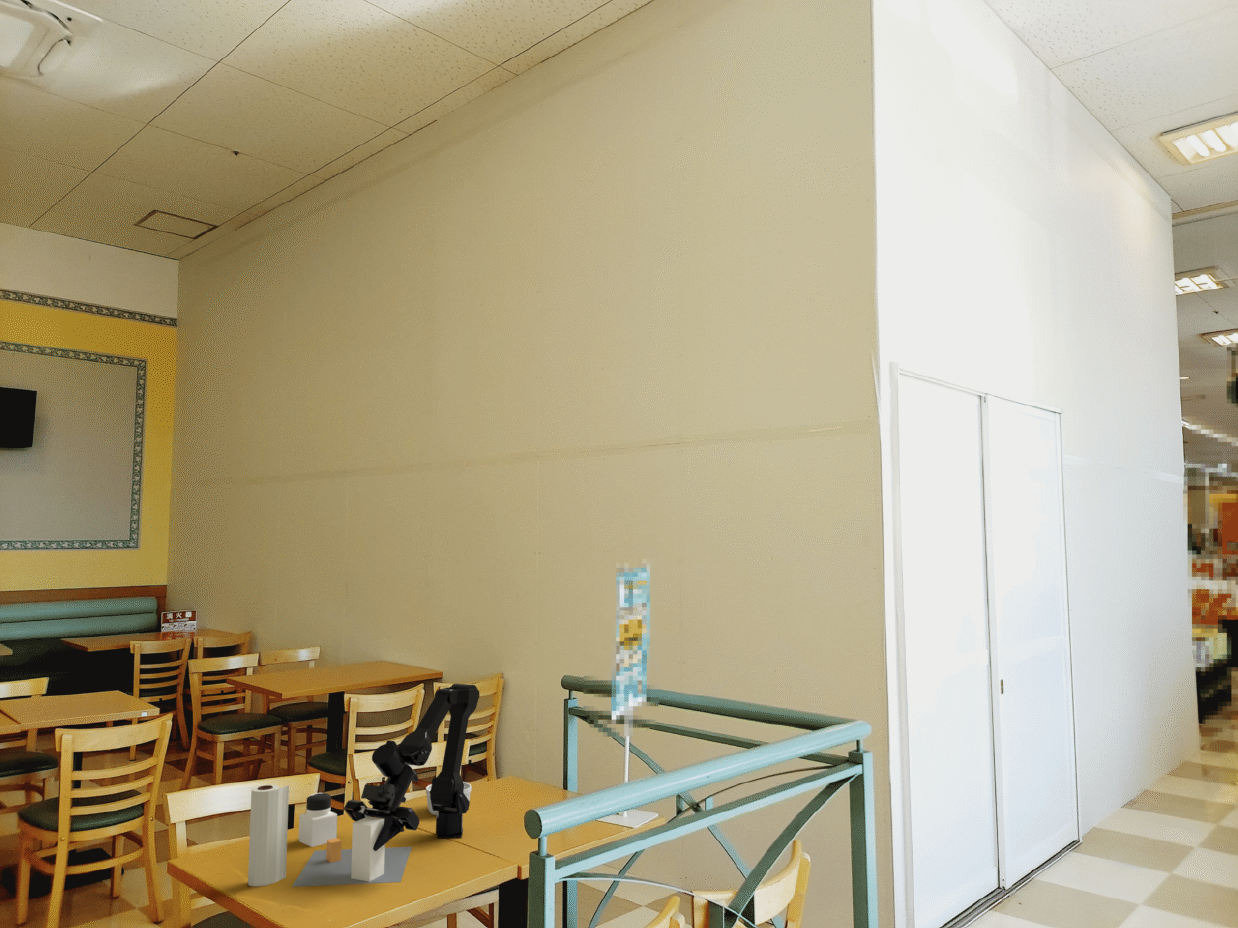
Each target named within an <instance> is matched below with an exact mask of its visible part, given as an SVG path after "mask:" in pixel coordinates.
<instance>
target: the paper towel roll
mask: <svg viewBox="0 0 1238 928" xmlns="http://www.w3.org/2000/svg"><path fill="white" fill-rule="evenodd" d="M250 791H251V792H250V793H251V795H250V817H249V820H250V821H249V822H250V823H249V843H248V844H249V847H248V870H247V871H248V872H247V885H248V886H249V887H265V886H268V885H272V884H274V883H277V882H279V881H281V880H283V879H286V878H287V854H288V853H287V851H288V830H289V829H288V828H289V827H288V825H289V824H288V822H289V801H290V800H289V799H290V796H289V795H290V794H289V793H290V785H285V786H282V787H280V785H278V784H277V785H276V784H262V785H261V784H260V785H257V786H254V787H252V788H251V790H250Z"/></svg>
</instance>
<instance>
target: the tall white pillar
mask: <svg viewBox="0 0 1238 928" xmlns="http://www.w3.org/2000/svg"><path fill="white" fill-rule="evenodd" d="M383 825H384V819H381V818H375V817H365V818H363V819H361V820H358V821H354V822H352V838H351V839H352V840H351V841H352V842H351V844H352V846H351V849H352V873H351V878H353V879H358V880H364V881H369V882H370V881H372V880H373V879H375V878H377V877H379V876H381V875H383V874H384V853H385V848H386V846H385V845H386V843H385V844H384V845H383V846H382V847H381V848H379V849H378V850H377V851H374V850H373V847H374V845H375V842H376V840H377V838H378V836H379V834H380V832H381V830H382V828H383Z"/></svg>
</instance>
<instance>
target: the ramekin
mask: <svg viewBox="0 0 1238 928" xmlns="http://www.w3.org/2000/svg"><path fill="white" fill-rule="evenodd" d="M463 783H464V792H463V793H464V794H465V796H466V797H467V798H468V800H469V801H471V800H470V799H471V793H472V788H473V787H472V784H471V783H469V782H466V781H463ZM431 786H432V783H431V784H428V785H427V786H426V787H425V794H426V802H427V803H426V804H427V810H428V811H429V813H430V814H431V815H434V816H437V815H438V813H439V811H433V809H432V804H431V800H430V790H431Z"/></svg>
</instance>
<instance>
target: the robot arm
mask: <svg viewBox="0 0 1238 928" xmlns="http://www.w3.org/2000/svg"><path fill="white" fill-rule="evenodd" d="M479 699H480V690H479V689H478V687H477V686H476V685H475V684H469V683H468V684H467V683H453V684H452V685H451V686H450V687H443V688H439V689H437V690H436V691H435V693H434V698H433V700H432V701H431V702H430V705H429V706H428V708H427V709H426V711H425V713H424V715H423V716H422V718H421V719H420V721H419V723H418V724H417V727H416V728H414V730H413V731H411V732H410V733H408V734H407V735H405V737H404V738H403V739H402V741H401V742H400V743H399V745H397V743H396V741H395V740H386V742H385V744H382V745H380V746H378V747H377V748H376V749H375V750H374V751H373V753H372V755H371V761H372V762H373V764H374V765H375V766H376V768H377V769H378V770H379V772H380V773H381V774H382V775H383V776H384V777H386V779H385V781H384V784H382V783H379V785H374V784H367V783H365V784H364V785H363V786H364V787H363V790H362V793H361V796H360V798H361V799H363V800H364V799H366V800H368V804H369V805H370V806H372V807H368V806H367V805H366V803H365V802H364V801H362V800H357V799H350V800H347V802H346V803H345V805H344V807H343V810H344V812H345V813H346V814H347V815H348V816H349V818H350V819H351V820H352V821H354V822H356V821H358V820H361V819H363V818H365V817H373V818H380V819H384V825H383V828H382V830H381V832H380V834H379V836H378V838H377V840H376V842H375V845H374V847H373V850H374V851H377V850H378V849H379V848H381V847H382V846H383V845H384V844H385V845H386V844H387V843H388V842H389V841H390V840H392V839H393V838H394V837H396V836H397V835H398V834H400V833H404V832H405V830H410V831H417V830H418V827H419V825H420V817H419V815H418V814H417V813H416V812H415V811H414V809H413V808H412V807H406V806H400V805H401V804H402V803H404V804H405V803H406V801H407V798H406V793H407V791H408V790H409V788H410V785H411V784H412V782H418V781H419V776H418V774H417V770H416V769H414V768H412V766H415V767H422V766H424V765H425V764H426V763H427V762H428V760H429V757H430V755H431V753H432V750H433V743H432V742H433V739H434V737H435V735H436V733H437V732H438V730H439V728H440V726H441V725H442V723H443V721H444V720H445V719H446V716H447V714H448V713H449V715H450V716H449V717H450V720H449V724H448V731H447V734H446V735H447V736H446V742H445V749H444V755H443V759H442V765H441V770H440V772H439V773H438V775H437V776H434V777H433V778H432V779H431V784H432V786H431V790H430V800H431V804H432V809H433V811H439V813H438V815H436V818H435V822H436V823H435V834H436V838H437V839H445V838H444V837H446V839H447V838H448V839H450V838H451V837H454V838H463V834H464V833H463V832H464V827H463V825H464V824H463V820H464V818H463V816H464V814H466V813H467V812H468V811H469V809H470V805H471V804H470V803H471V802H470V801H471V800H470V801H469V800H468V798H467V797H466V796H465V794H464V793H463V792H464V783H463V782H464V781H463V778H462V775H461V767H462V763H463V755H464V749H465V743H466V742H465V741H466V736H467V731H468V724H469V719H470V717H471V716H472V714H473V713H474V712H475V711H476V710H477V707H478V702H479ZM404 827H405V828H404Z"/></svg>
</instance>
